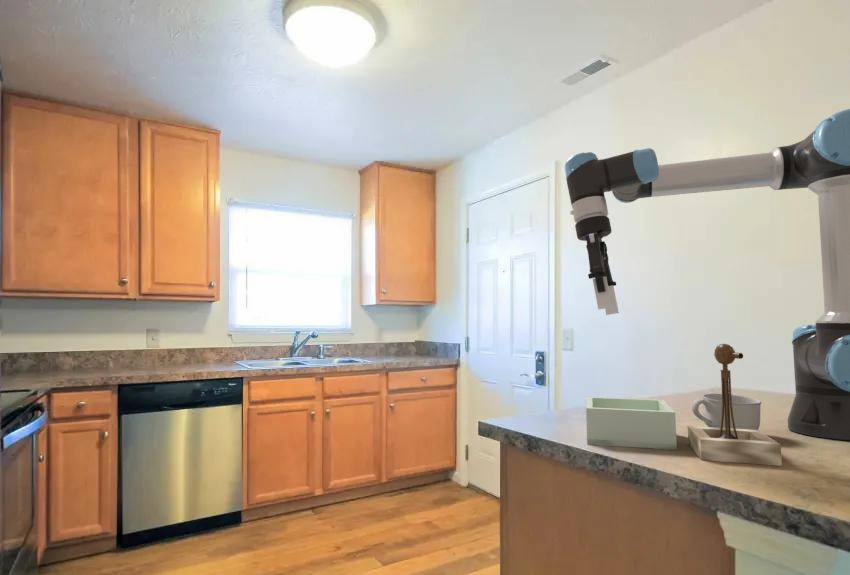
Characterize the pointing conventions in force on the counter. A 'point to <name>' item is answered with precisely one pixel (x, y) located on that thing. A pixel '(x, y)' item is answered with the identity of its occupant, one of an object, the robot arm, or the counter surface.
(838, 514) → the counter surface
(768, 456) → the shallow wooden tray
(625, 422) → the bin
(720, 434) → the wooden tabletop sculpture
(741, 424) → the teacup
